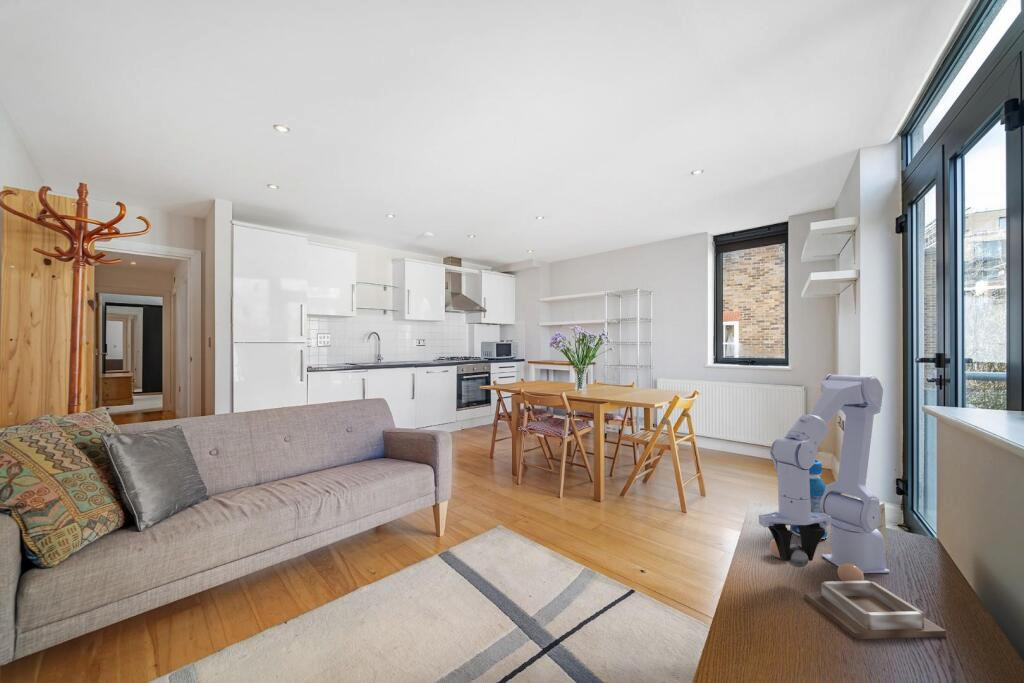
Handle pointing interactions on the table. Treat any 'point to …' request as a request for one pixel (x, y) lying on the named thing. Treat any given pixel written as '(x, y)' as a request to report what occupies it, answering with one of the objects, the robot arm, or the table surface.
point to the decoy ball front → (774, 548)
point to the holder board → (871, 611)
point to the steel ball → (798, 556)
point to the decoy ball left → (850, 572)
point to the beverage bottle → (814, 494)
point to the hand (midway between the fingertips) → (796, 558)
